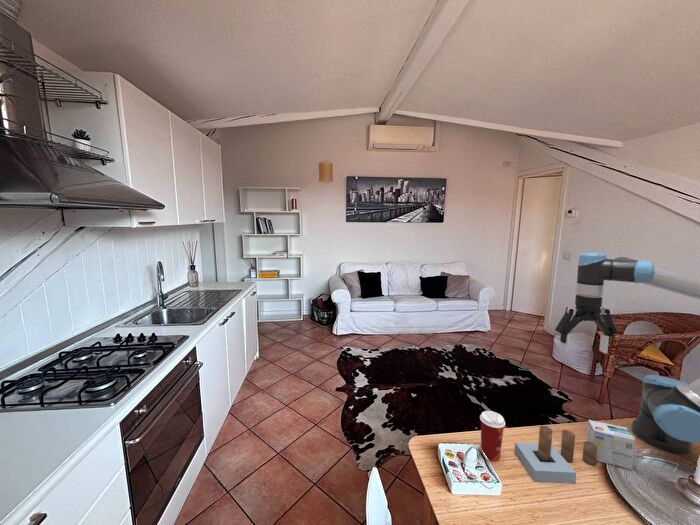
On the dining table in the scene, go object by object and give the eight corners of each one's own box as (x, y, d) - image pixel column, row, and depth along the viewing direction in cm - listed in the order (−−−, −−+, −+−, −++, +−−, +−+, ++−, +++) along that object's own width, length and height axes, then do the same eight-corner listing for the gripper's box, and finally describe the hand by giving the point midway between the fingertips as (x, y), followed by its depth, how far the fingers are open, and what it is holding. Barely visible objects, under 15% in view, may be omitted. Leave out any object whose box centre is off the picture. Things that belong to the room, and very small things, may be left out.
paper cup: (506, 465, 95) (508, 425, 93) (481, 462, 96) (483, 422, 95) (499, 448, 102) (501, 410, 101) (475, 445, 104) (477, 408, 102)
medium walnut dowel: (568, 454, 99) (570, 430, 98) (575, 462, 96) (577, 437, 95) (558, 454, 99) (560, 429, 99) (564, 462, 96) (566, 436, 95)
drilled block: (550, 453, 100) (551, 444, 100) (575, 483, 88) (576, 472, 88) (514, 451, 101) (515, 442, 100) (534, 481, 89) (535, 470, 88)
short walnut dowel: (590, 458, 98) (592, 441, 97) (598, 466, 95) (600, 449, 94) (580, 457, 98) (581, 441, 98) (587, 465, 95) (589, 448, 94)
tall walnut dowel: (545, 462, 96) (548, 425, 94) (551, 471, 92) (555, 433, 91) (534, 462, 96) (537, 425, 95) (540, 470, 93) (543, 432, 91)
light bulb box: (624, 456, 99) (627, 426, 98) (633, 471, 93) (636, 439, 92) (585, 446, 103) (587, 418, 102) (591, 460, 97) (594, 430, 96)
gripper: (616, 293, 109) (610, 348, 111) (546, 292, 110) (543, 346, 112) (634, 298, 101) (628, 356, 103) (560, 297, 103) (555, 355, 105)
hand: (584, 351), depth 108 cm, fingers open, 13 cm apart
